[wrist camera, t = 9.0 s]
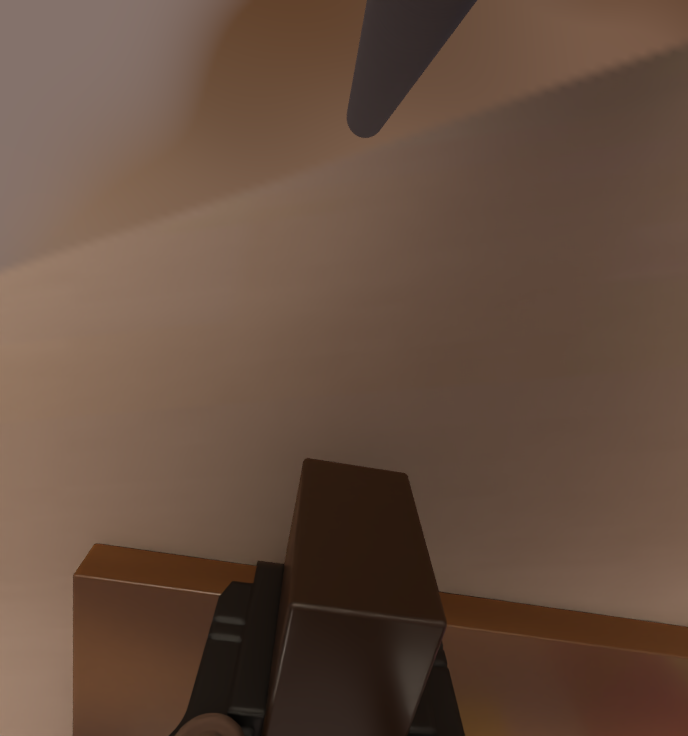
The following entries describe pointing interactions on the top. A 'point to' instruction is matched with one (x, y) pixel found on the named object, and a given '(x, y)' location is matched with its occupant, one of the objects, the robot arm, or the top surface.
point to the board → (460, 642)
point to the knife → (353, 608)
